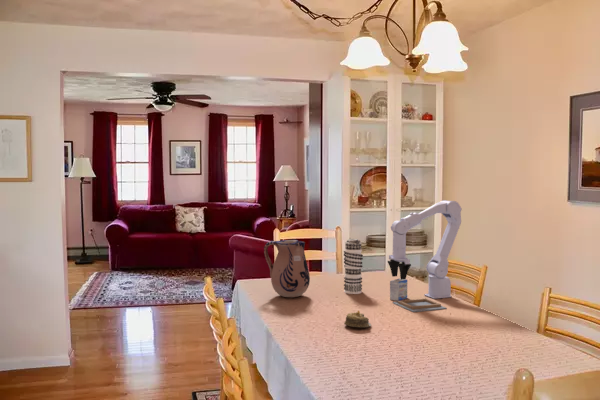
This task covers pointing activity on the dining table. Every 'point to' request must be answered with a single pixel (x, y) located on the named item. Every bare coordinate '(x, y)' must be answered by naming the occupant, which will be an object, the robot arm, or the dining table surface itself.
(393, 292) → the medicine box
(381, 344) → the dining table surface
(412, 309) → the board
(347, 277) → the decorative candle
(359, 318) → the cake
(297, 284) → the ceramic pitcher
